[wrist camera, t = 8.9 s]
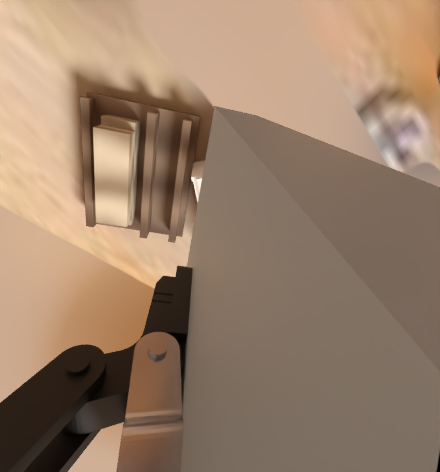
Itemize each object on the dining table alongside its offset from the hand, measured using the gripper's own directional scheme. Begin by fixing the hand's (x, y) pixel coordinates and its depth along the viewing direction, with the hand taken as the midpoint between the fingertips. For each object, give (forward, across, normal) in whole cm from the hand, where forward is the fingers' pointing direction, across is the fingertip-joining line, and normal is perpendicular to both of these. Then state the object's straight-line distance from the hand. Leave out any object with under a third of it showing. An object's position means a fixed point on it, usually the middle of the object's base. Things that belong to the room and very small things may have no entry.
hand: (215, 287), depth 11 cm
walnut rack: (+29, +9, +4) cm, 31 cm away
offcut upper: (+25, +12, +4) cm, 28 cm away
